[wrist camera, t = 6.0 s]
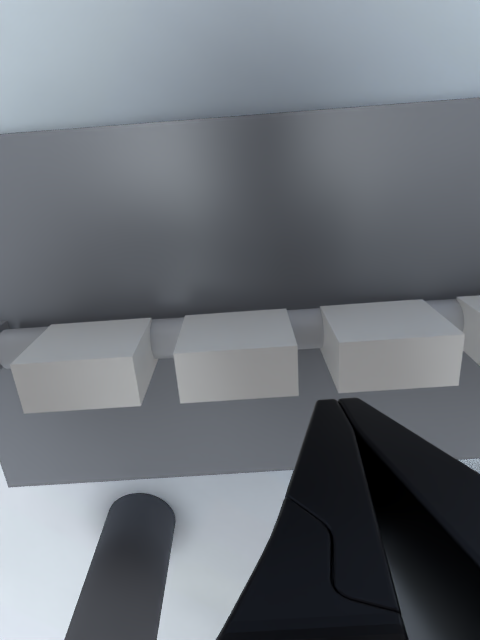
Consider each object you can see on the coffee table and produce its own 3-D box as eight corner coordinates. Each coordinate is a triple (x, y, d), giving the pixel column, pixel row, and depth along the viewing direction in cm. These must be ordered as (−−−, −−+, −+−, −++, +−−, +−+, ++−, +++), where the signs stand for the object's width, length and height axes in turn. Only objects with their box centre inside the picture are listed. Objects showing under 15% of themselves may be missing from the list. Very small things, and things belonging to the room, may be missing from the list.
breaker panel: (565, 418, 18) (647, 486, 14) (31, 452, 18) (-18, 525, 15) (644, 89, 14) (788, 69, 10) (-61, 142, 14) (-162, 141, 10)
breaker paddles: (586, 322, 14) (681, 371, 11) (22, 360, 14) (-35, 417, 11) (596, 280, 13) (699, 318, 10) (11, 320, 14) (-51, 368, 11)
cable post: (179, 542, 20) (157, 692, 15) (114, 546, 20) (68, 697, 15) (170, 491, 19) (144, 632, 14) (102, 495, 19) (48, 638, 14)
